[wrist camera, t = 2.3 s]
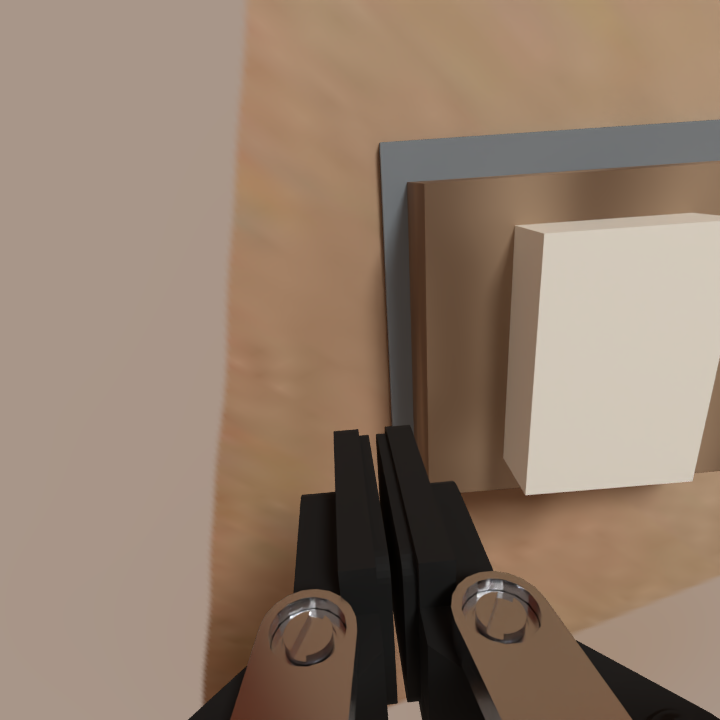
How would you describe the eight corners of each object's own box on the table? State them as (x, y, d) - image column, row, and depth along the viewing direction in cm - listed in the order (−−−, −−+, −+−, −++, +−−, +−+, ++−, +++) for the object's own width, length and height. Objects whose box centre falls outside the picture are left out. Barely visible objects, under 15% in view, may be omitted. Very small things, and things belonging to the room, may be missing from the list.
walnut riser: (744, 158, 20) (851, 154, 16) (690, 417, 24) (763, 467, 20) (405, 182, 19) (424, 183, 15) (412, 440, 24) (429, 495, 20)
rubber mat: (1113, 93, 20) (1129, 92, 19) (969, 420, 25) (978, 423, 25) (379, 143, 19) (379, 142, 18) (393, 467, 24) (394, 472, 24)
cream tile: (692, 212, 16) (750, 218, 14) (651, 445, 19) (692, 481, 17) (514, 225, 16) (544, 233, 14) (503, 458, 19) (525, 495, 17)
